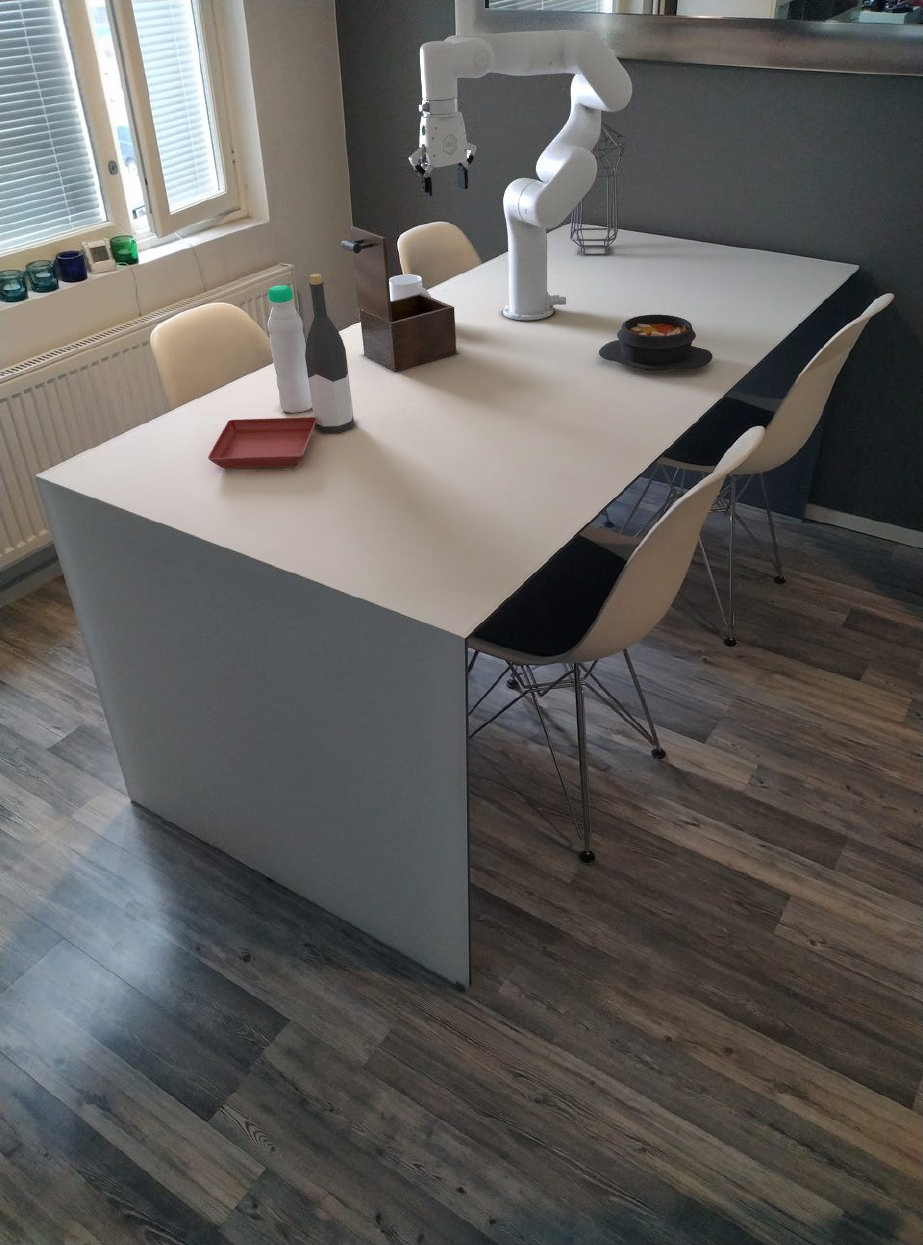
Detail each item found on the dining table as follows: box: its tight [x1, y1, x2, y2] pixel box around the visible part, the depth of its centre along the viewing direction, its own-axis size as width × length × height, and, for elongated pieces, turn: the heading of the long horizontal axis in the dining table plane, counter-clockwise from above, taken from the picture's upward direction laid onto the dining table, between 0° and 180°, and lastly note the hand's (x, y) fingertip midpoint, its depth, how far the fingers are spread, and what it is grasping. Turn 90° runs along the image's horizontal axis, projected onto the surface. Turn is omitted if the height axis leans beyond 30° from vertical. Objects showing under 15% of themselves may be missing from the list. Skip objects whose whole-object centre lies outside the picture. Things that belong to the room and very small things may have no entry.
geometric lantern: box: [569, 120, 626, 256], centre depth 288 cm, size 16×16×35 cm
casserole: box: [598, 314, 713, 372], centre depth 221 cm, size 25×19×8 cm
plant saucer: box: [207, 416, 317, 469], centre depth 194 cm, size 18×18×3 cm
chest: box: [358, 293, 458, 373], centre depth 232 cm, size 17×14×11 cm
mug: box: [389, 274, 432, 301], centre depth 251 cm, size 12×8×10 cm
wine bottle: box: [305, 273, 354, 434], centre depth 195 cm, size 8×8×30 cm
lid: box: [341, 225, 392, 322], centre depth 219 cm, size 18×14×6 cm
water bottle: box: [267, 284, 312, 414], centre depth 205 cm, size 7×7×25 cm
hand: (445, 191), depth 228 cm, fingers open, 9 cm apart
